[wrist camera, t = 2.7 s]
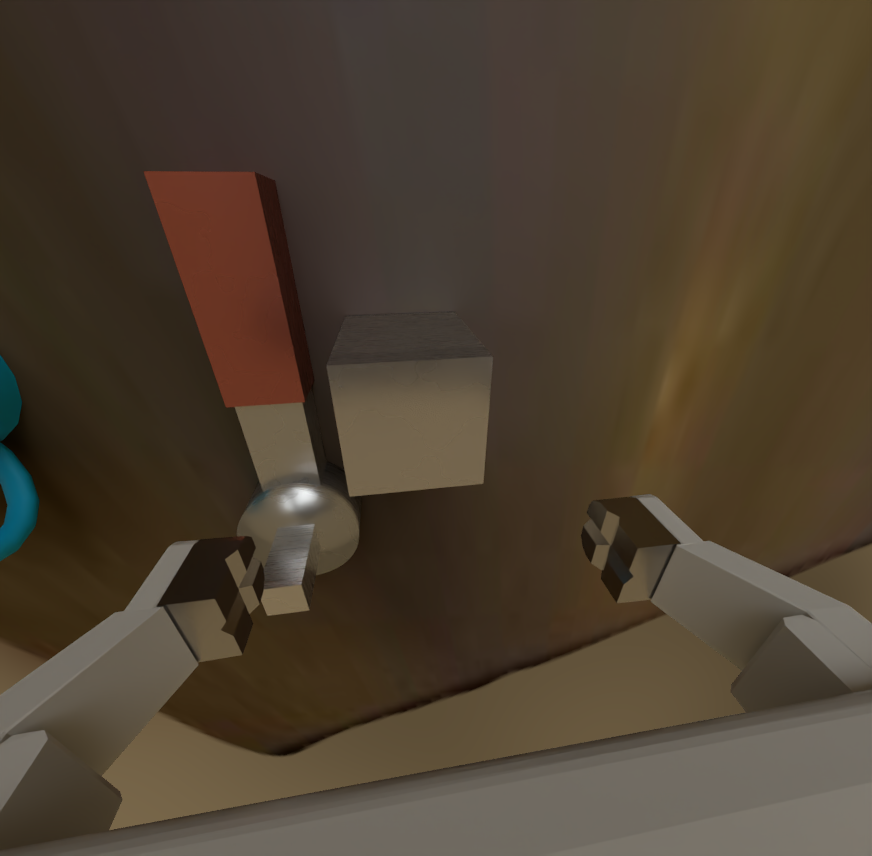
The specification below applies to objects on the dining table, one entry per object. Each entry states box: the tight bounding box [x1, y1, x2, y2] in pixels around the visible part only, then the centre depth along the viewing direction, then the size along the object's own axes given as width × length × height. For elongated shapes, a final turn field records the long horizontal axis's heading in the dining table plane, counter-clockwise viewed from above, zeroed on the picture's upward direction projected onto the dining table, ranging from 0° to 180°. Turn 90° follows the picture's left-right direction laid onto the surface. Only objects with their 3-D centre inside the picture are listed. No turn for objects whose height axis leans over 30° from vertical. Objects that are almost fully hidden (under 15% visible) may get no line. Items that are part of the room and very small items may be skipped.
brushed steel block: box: [326, 312, 493, 497], centre depth 14 cm, size 5×5×6 cm
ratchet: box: [144, 171, 362, 616], centre depth 15 cm, size 18×6×6 cm, turn 1°
